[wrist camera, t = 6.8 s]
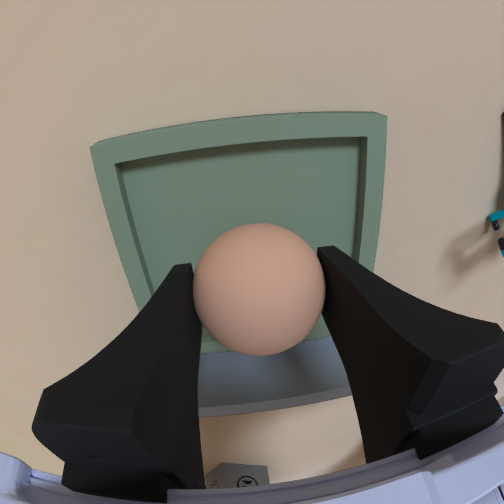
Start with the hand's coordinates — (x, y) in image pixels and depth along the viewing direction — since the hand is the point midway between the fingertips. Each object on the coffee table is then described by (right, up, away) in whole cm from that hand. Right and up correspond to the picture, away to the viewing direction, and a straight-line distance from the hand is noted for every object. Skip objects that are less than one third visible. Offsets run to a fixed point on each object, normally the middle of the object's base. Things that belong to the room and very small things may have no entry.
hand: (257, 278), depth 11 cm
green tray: (0, +1, +2) cm, 2 cm away
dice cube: (-2, -22, +17) cm, 28 cm away
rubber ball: (0, 0, -1) cm, 1 cm away
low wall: (0, -5, +6) cm, 7 cm away
